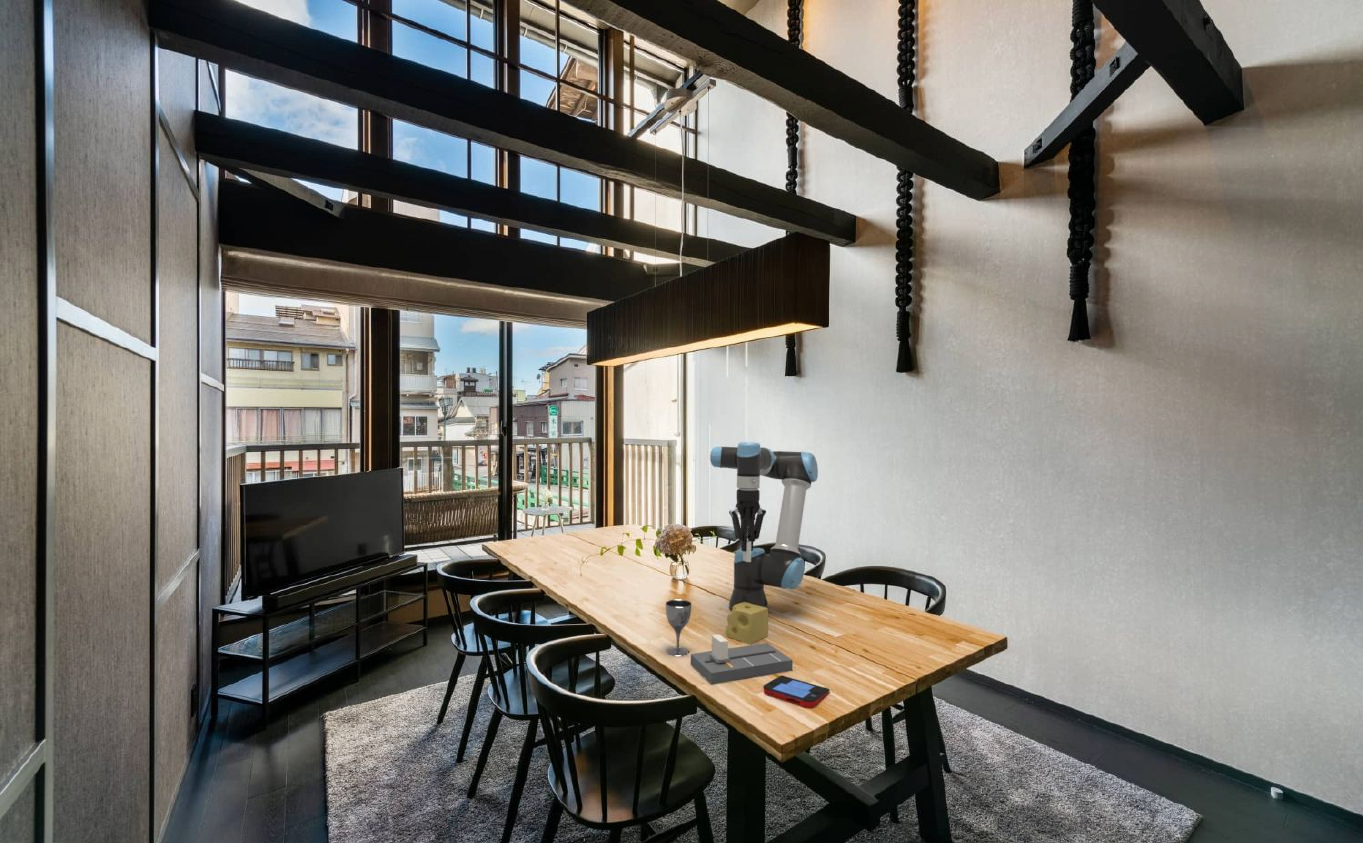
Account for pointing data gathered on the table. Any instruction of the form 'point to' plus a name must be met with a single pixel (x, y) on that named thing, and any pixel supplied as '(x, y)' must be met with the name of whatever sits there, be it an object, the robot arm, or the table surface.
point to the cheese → (747, 623)
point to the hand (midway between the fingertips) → (746, 560)
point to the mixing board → (742, 663)
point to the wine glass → (678, 621)
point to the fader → (719, 649)
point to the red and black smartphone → (795, 691)
